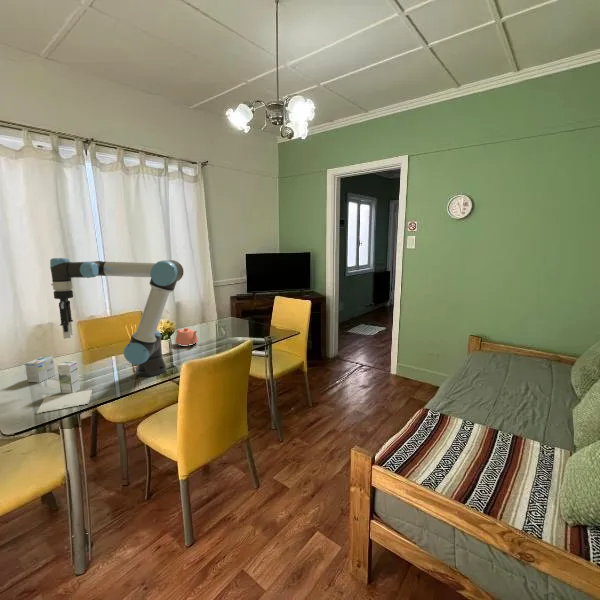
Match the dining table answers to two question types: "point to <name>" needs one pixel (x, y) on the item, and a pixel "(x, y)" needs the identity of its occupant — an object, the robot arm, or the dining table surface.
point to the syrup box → (68, 377)
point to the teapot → (186, 337)
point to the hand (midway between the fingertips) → (68, 336)
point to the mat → (65, 400)
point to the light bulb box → (40, 369)
